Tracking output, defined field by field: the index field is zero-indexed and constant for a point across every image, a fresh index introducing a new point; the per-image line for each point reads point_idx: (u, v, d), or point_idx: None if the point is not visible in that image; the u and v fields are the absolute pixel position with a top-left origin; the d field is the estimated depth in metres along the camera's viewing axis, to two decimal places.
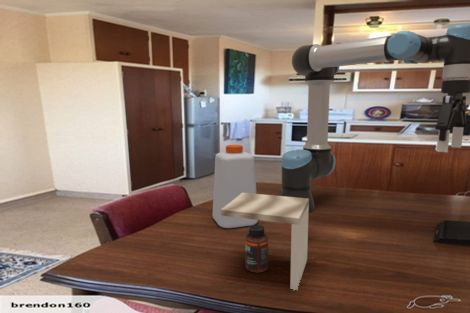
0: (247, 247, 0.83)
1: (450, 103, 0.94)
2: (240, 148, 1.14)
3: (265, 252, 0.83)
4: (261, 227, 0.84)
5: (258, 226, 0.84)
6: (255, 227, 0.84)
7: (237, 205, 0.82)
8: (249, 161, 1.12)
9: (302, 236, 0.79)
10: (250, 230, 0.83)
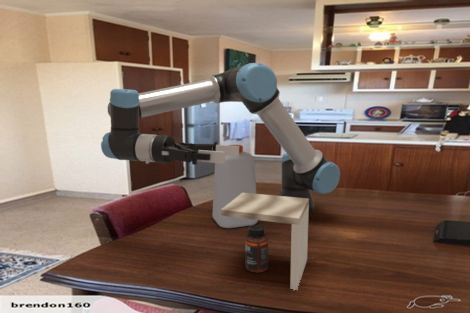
0: (247, 247, 0.83)
1: None
2: (240, 148, 1.14)
3: (265, 252, 0.83)
4: (261, 227, 0.84)
5: (258, 226, 0.84)
6: (255, 227, 0.84)
7: (237, 205, 0.82)
8: (249, 161, 1.12)
9: (302, 236, 0.79)
10: (250, 230, 0.83)
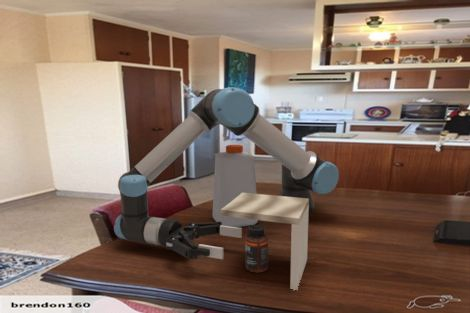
0: (247, 247, 0.83)
1: None
2: (240, 148, 1.14)
3: (265, 252, 0.83)
4: (261, 227, 0.84)
5: (258, 226, 0.84)
6: (255, 227, 0.84)
7: (237, 205, 0.82)
8: (249, 161, 1.12)
9: (302, 236, 0.79)
10: (250, 230, 0.83)
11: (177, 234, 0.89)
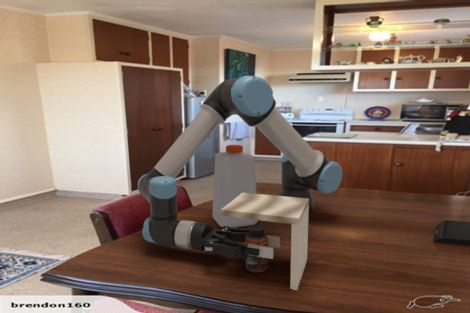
0: None
1: None
2: (240, 148, 1.14)
3: None
4: (261, 227, 0.84)
5: (258, 226, 0.84)
6: (255, 227, 0.84)
7: (237, 205, 0.82)
8: (249, 161, 1.12)
9: (302, 236, 0.79)
10: (250, 230, 0.83)
11: (209, 237, 0.86)
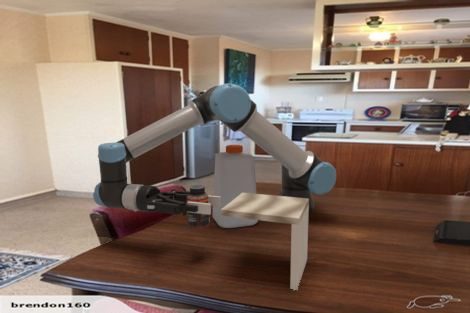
0: None
1: None
2: (240, 148, 1.14)
3: None
4: (201, 186, 0.87)
5: (199, 186, 0.88)
6: (196, 186, 0.88)
7: (237, 205, 0.82)
8: (249, 161, 1.12)
9: (302, 236, 0.79)
10: (190, 189, 0.87)
11: (154, 198, 0.90)
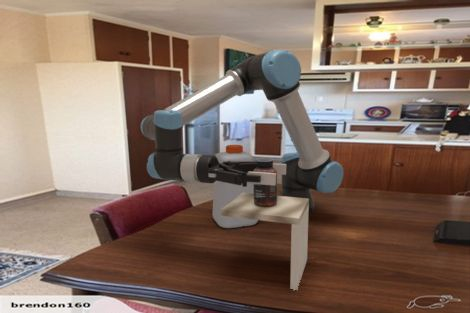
0: None
1: None
2: (240, 148, 1.14)
3: (274, 185, 0.80)
4: (270, 160, 0.81)
5: (266, 159, 0.82)
6: (263, 160, 0.81)
7: (237, 205, 0.82)
8: None
9: (302, 236, 0.79)
10: (258, 162, 0.80)
11: (217, 167, 0.84)
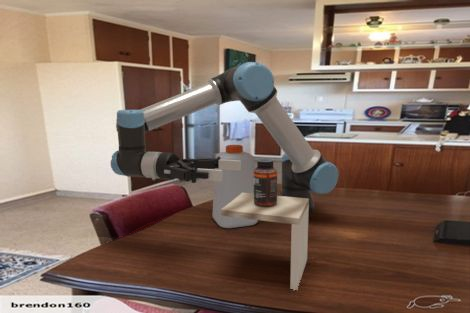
0: (256, 180, 0.80)
1: None
2: (240, 148, 1.14)
3: (274, 185, 0.80)
4: (270, 160, 0.81)
5: (267, 159, 0.82)
6: (264, 160, 0.81)
7: (237, 205, 0.82)
8: (249, 161, 1.12)
9: (302, 236, 0.79)
10: (259, 162, 0.80)
11: (175, 164, 0.88)
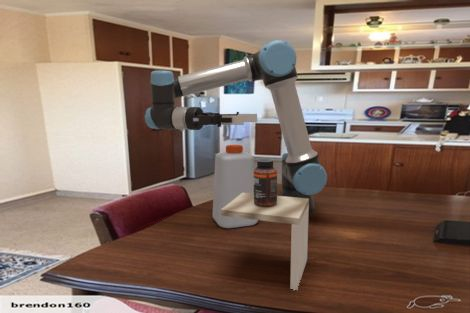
0: (256, 180, 0.80)
1: None
2: (240, 148, 1.14)
3: (274, 185, 0.80)
4: (270, 160, 0.81)
5: (267, 159, 0.82)
6: (264, 160, 0.81)
7: (237, 205, 0.82)
8: (249, 161, 1.12)
9: (302, 236, 0.79)
10: (259, 162, 0.80)
11: (202, 115, 1.03)
